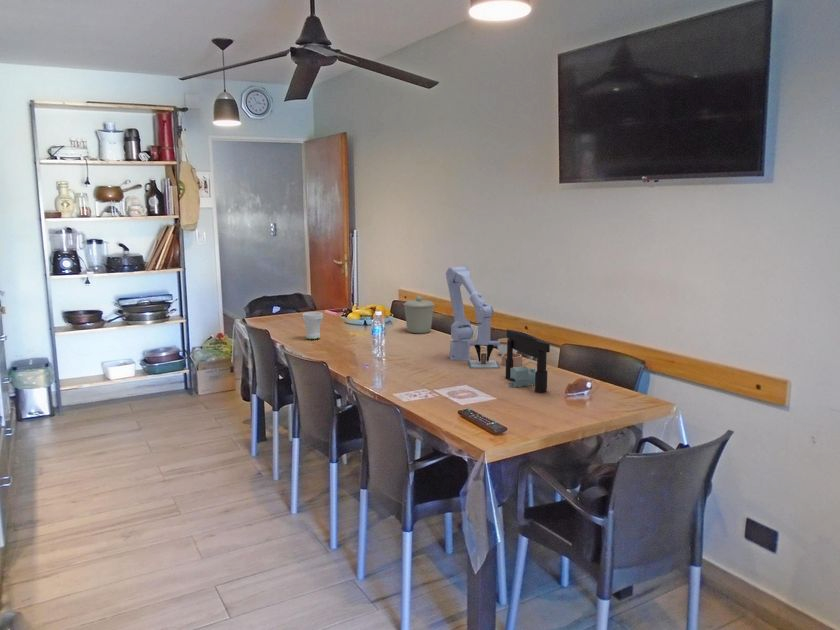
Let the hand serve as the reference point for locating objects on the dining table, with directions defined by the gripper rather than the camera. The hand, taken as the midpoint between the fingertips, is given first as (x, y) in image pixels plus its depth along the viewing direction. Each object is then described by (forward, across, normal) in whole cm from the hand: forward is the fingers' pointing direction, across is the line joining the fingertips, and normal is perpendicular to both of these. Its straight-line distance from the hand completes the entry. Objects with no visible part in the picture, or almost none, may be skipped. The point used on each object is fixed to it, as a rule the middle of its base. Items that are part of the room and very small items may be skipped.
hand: (483, 361), depth 302 cm
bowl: (+2, +13, +1) cm, 13 cm away
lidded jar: (+2, +14, +20) cm, 25 cm away
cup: (+2, -87, +60) cm, 106 cm away
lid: (+2, 0, 0) cm, 2 cm away
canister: (+2, -29, +80) cm, 85 cm away
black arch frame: (+2, +14, -32) cm, 35 cm away
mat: (+2, 0, 0) cm, 2 cm away
